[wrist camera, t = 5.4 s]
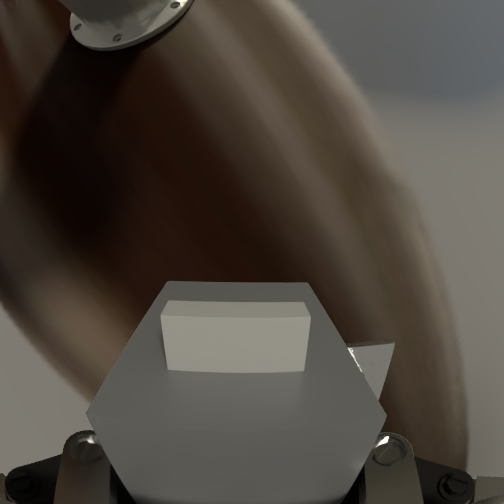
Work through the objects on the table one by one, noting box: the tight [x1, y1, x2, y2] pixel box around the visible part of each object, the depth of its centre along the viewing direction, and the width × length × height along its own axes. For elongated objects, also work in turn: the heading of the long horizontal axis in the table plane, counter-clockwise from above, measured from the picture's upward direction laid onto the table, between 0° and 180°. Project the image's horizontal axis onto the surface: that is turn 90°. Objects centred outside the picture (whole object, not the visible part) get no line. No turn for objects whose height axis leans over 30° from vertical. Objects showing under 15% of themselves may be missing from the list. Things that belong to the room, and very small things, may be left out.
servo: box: [86, 281, 387, 504], centre depth 7 cm, size 9×4×7 cm, turn 179°
